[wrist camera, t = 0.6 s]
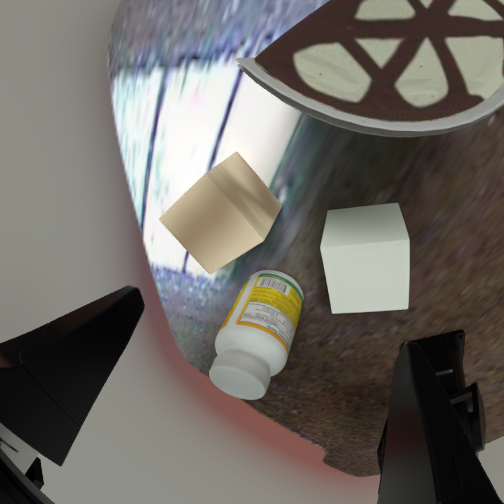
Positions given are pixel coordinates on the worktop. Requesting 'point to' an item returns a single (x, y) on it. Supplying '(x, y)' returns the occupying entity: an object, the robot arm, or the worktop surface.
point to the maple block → (223, 214)
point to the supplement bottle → (257, 334)
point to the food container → (390, 65)
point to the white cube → (366, 258)
